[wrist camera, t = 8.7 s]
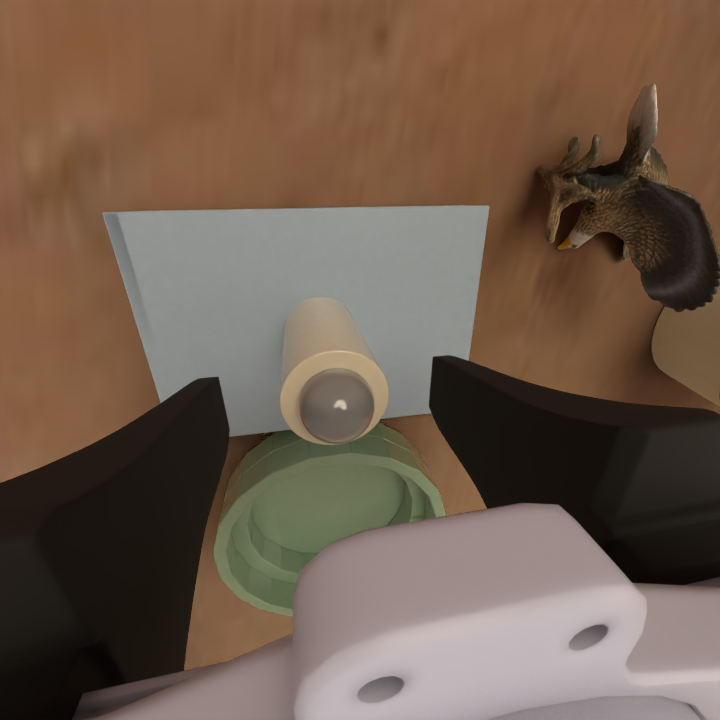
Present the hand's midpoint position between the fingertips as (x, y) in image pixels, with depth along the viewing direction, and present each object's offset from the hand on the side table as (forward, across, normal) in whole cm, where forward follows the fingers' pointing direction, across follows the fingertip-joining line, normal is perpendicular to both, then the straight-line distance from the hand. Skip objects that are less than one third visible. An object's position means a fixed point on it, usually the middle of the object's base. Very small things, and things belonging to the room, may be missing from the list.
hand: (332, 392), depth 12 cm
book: (+8, 0, 0) cm, 8 cm away
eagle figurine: (+8, -15, -5) cm, 18 cm away
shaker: (+6, 0, 0) cm, 6 cm away
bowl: (+8, 0, +13) cm, 15 cm away
